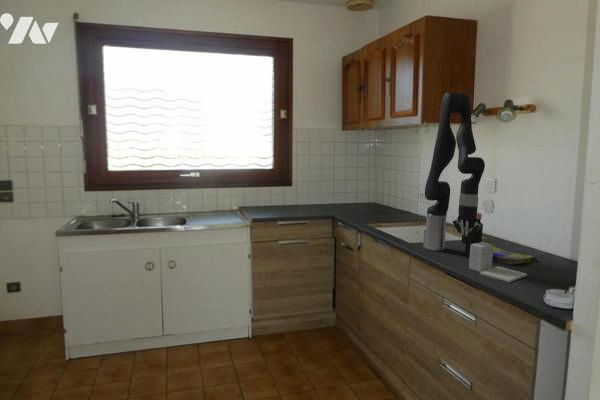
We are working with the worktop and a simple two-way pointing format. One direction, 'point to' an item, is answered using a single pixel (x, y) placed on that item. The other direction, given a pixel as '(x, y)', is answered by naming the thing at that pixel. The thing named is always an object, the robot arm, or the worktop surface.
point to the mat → (503, 274)
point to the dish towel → (511, 257)
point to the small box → (481, 256)
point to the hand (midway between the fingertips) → (465, 243)
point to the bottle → (475, 236)
